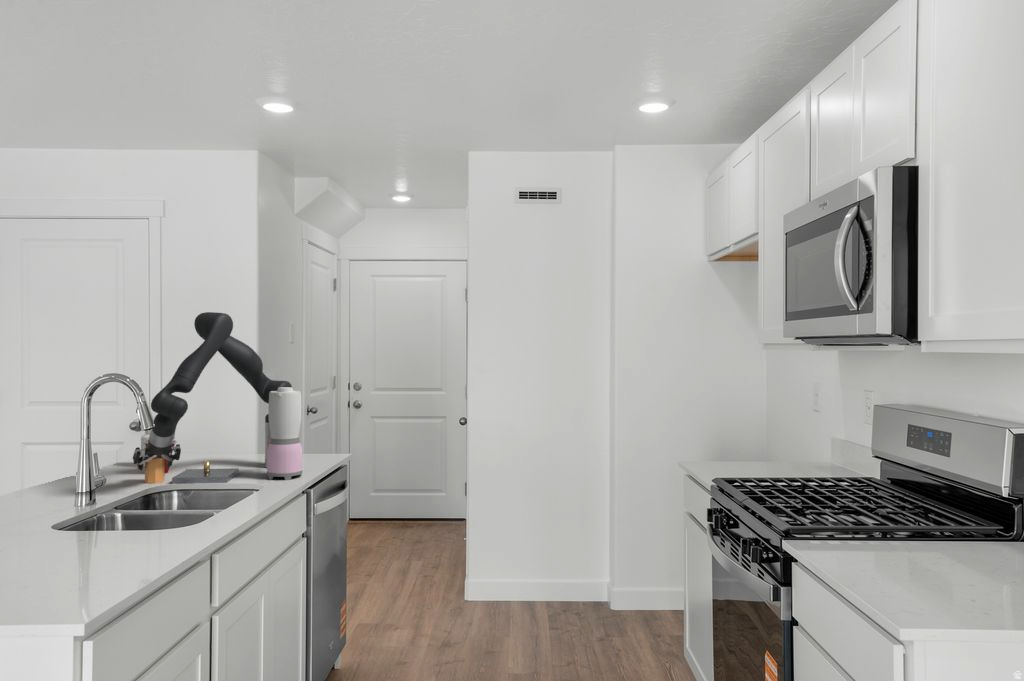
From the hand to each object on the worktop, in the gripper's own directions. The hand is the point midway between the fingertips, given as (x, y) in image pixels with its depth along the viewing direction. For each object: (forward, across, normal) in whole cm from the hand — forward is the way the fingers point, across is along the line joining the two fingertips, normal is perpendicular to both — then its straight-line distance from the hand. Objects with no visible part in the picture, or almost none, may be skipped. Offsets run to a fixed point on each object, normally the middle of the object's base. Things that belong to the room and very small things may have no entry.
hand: (154, 467), depth 247 cm
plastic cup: (+15, -5, -8) cm, 17 cm away
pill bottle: (+27, -6, -20) cm, 34 cm away
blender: (-9, -40, +16) cm, 44 cm away
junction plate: (0, -16, +7) cm, 18 cm away
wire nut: (+3, 0, +4) cm, 5 cm away
